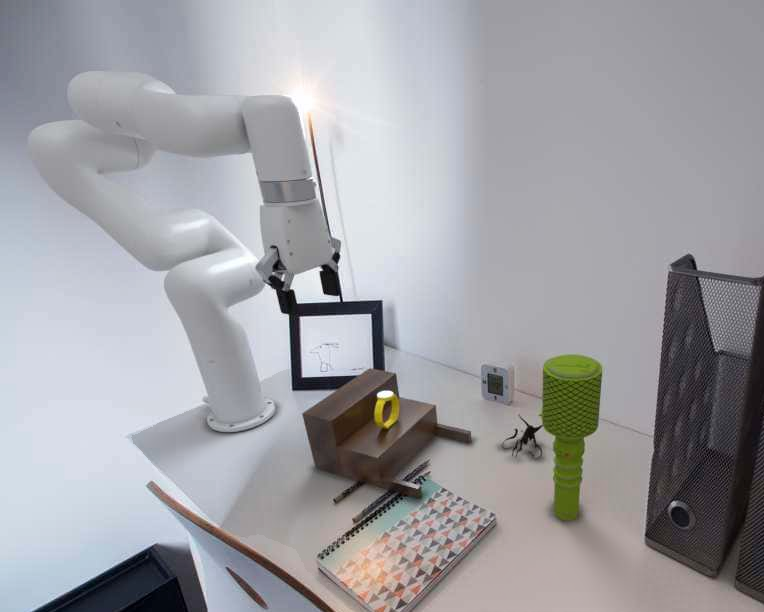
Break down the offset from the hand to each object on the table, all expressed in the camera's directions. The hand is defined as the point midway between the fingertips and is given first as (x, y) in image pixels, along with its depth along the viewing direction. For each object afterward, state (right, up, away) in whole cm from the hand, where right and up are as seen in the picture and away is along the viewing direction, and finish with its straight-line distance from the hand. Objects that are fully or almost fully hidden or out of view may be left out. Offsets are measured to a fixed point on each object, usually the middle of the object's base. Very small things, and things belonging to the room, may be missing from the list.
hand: (312, 304), depth 86 cm
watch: (+11, -20, +6) cm, 24 cm away
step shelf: (+12, -25, +8) cm, 29 cm away
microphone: (+40, -33, -6) cm, 52 cm away
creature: (+35, -25, +8) cm, 44 cm away
